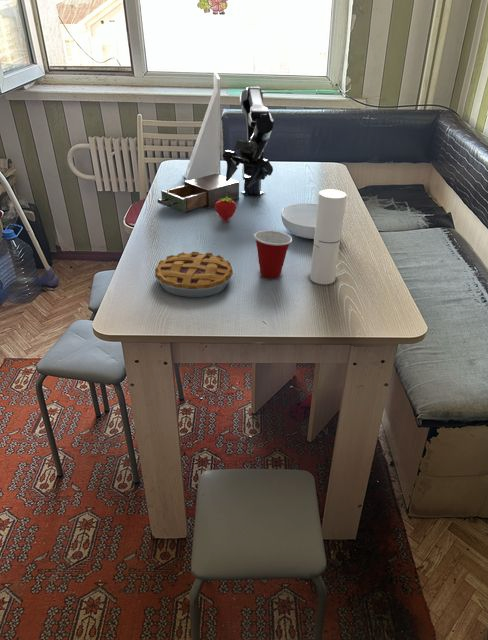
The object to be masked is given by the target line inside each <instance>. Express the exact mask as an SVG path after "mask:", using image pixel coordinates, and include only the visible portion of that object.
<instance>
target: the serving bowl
mask: <svg viewBox="0 0 488 640" xmlns="http://www.w3.org/2000/svg"><path fill="white" fill-rule="evenodd" d="M317 210H318V203H311V202H310V203H306V202H305V203H296V204H295V203H294V204H291V205H288V206H285V207H284V208H283V209H282V210H281V213H280V214H281V215H280V217H281V222H282V225H283V226H284V228H285V229H286V231H288V232H289V233H290V234H292V235H294V236H296V237H299V238H303V239H307V240H314V237H315V228H316V219H317Z"/></svg>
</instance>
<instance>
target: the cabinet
mask: <svg viewBox="0 0 488 640" xmlns="http://www.w3.org/2000/svg"><path fill="white" fill-rule="evenodd" d="M184 185H191V186H193V187H196V188H199V189H201V190H204V191H207V200H208V205H205V206H203V207H204V208H206V209H212V208H215V204H216V202H217V201H219V198H225V197H227V196H228V198H231V199H232V200H231V201H236V200H239V199H240V181H239V180H236V179H232V178H230V180H229V181H228V182H227V181H226V176H225V175H222V174H220V175H218V174H212V175H208V176H204V177H201V178H197V179H193V180H189V181H186V182H185V181H184ZM225 199H226V198H225Z"/></svg>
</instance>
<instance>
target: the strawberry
mask: <svg viewBox="0 0 488 640" xmlns="http://www.w3.org/2000/svg"><path fill="white" fill-rule="evenodd" d="M225 198H226V199H225ZM225 198H219V201H217V202H216V204H215V206H214V209H215V212H216V213H217V215H218V216H219V217H220V218H221V219H222V221H223V222H224V223H227V222H228V221H229V220H231V218H232V217H233V216H234V214H235V213H236V211H237V203H236V202H235V200H233V201H231V200H232V199H231V198H228V196H227V197H225Z"/></svg>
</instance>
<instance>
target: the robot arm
mask: <svg viewBox="0 0 488 640" xmlns="http://www.w3.org/2000/svg"><path fill="white" fill-rule="evenodd" d="M239 106H241V112H242V114H243V115H244V116H245V120H246V121H245V122H246V141H245V140H239V139H236V140H235V144H234V148H233V150H234V151H232V150H229V149H227V150H224V151H223V154H222V158H223V159H224V161H225V162H226V174H225V177H226V181H227V182H228V181H229V180H230V179H232V177H233V175H234V174H235V173H236V171H237V170H238V166H239V165H240V164H242V169H241V177H242V180H244V182H243V190H242V191H241V194H243V195H246V196H248V197H252V198H254V197H257V196H261V195H263V194H264V192H263V191H261V190H262V180H263V181H265V179H266V178H267V177H268V176H272V174H273V172H274V167H273V165H272V164H271V162H270V161H269V159H266V158H264V155H265V153H264V150H265V148H266V146H267V145H268V142H269V140H270V138H271V134H272V132H273V129H274V123H275V121H274V118H273V116H272V114H271V113H270V110H269V108H268V107H267V106H265V105H264V92H263V91H262V88H261V87H259V86H248V87H246V88H245V89H244V90H242V91H240V94H239ZM236 151H238V154H239V155H238V154H237V153H236Z"/></svg>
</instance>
